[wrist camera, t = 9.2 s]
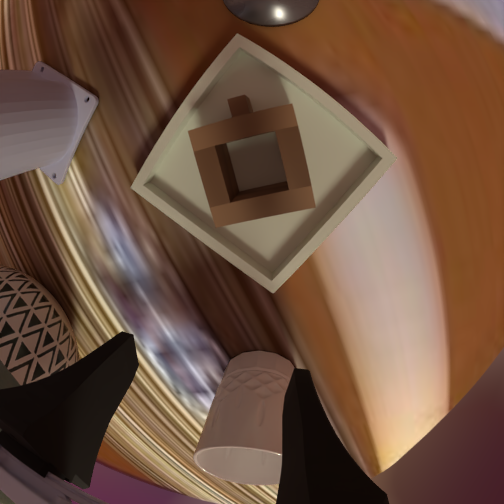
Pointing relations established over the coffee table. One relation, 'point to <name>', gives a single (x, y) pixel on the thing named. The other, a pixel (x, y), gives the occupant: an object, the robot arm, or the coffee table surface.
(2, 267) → the planter
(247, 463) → the white cup
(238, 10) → the grey knobbed lid
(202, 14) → the coffee table surface
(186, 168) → the tray
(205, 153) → the brown square frame
